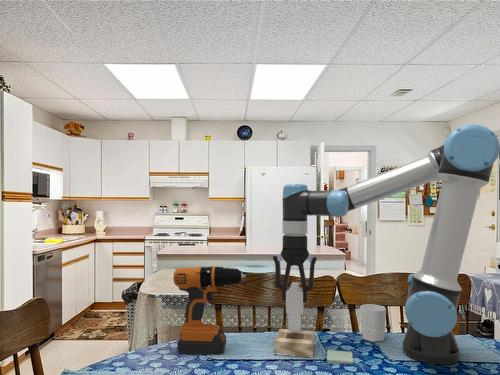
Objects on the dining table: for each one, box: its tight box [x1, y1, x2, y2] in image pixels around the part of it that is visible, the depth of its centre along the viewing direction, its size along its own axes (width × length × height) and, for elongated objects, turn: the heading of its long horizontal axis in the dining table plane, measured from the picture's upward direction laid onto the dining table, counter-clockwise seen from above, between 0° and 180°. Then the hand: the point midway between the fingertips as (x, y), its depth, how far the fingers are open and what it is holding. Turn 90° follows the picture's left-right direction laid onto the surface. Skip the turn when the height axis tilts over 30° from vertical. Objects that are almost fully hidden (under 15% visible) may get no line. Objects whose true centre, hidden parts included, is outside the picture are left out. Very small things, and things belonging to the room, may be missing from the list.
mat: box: [326, 349, 354, 365], centre depth 108 cm, size 7×7×1 cm
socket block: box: [273, 328, 316, 359], centre depth 115 cm, size 11×11×4 cm
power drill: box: [173, 265, 247, 355], centre depth 114 cm, size 22×7×25 cm, turn 87°
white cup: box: [359, 303, 387, 343], centre depth 124 cm, size 8×8×10 cm
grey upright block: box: [287, 281, 302, 332], centre depth 115 cm, size 4×6×14 cm, turn 168°
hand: (294, 312), depth 115 cm, fingers closed on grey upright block, 4 cm apart
